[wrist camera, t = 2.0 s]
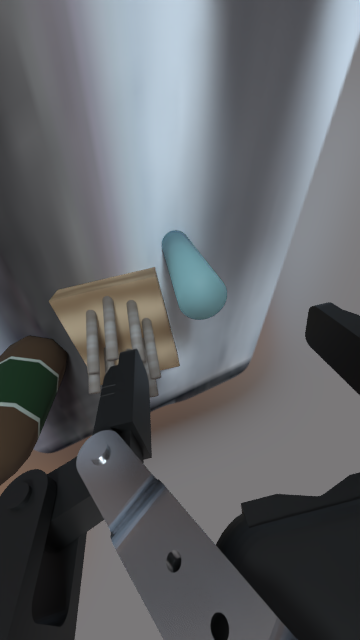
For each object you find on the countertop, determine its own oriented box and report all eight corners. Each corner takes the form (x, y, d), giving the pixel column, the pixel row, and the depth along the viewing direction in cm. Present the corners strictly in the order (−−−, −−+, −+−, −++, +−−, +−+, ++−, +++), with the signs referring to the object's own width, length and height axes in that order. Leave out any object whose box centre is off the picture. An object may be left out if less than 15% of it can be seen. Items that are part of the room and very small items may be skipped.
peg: (158, 234, 25) (173, 281, 13) (186, 227, 25) (225, 268, 13) (165, 261, 27) (182, 324, 15) (191, 255, 27) (228, 313, 15)
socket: (57, 290, 27) (22, 335, 19) (154, 267, 27) (159, 302, 19) (101, 370, 34) (89, 426, 27) (177, 352, 35) (187, 402, 27)
